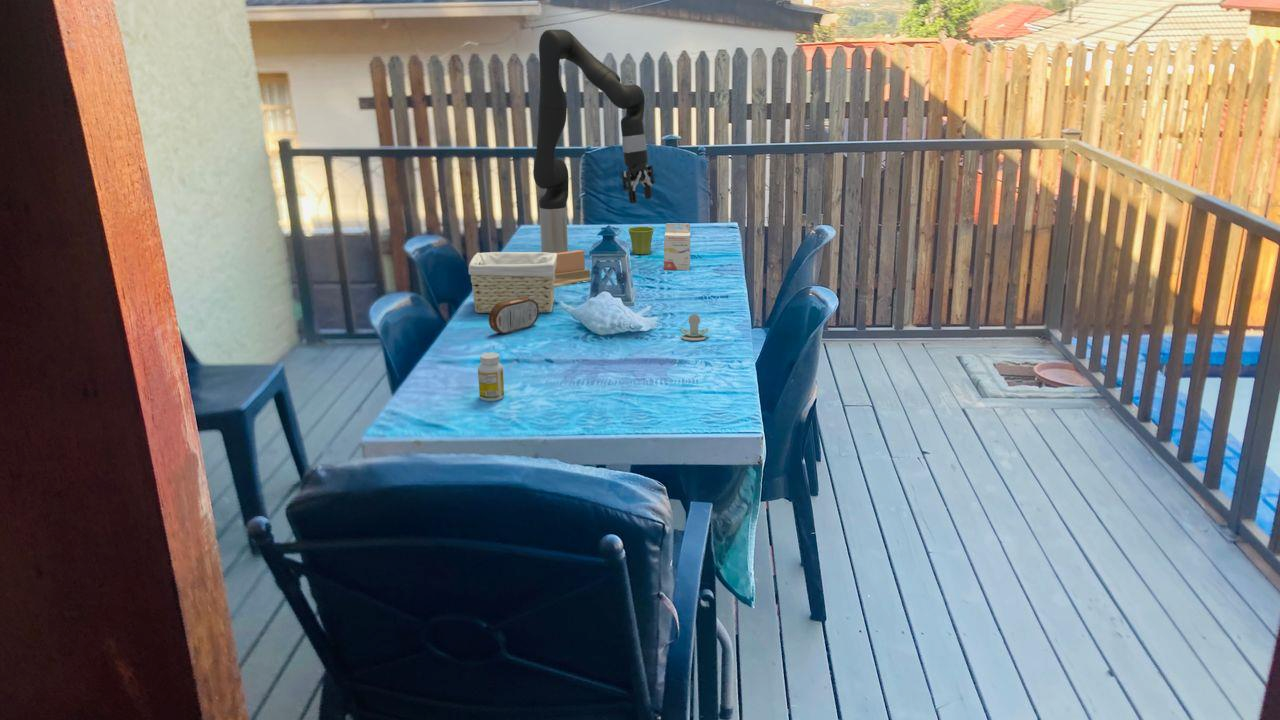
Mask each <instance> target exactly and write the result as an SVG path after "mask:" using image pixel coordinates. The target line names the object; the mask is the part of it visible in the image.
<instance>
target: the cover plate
mask: <svg viewBox="0 0 1280 720" xmlns="http://www.w3.org/2000/svg"><path fill="white" fill-rule="evenodd" d="M556 254H557V264H556V268H555V274H559V273H566V272H573V271H580V270H586V269H585V268H586V263H585V262H586V261H585V250H582V249H576V250H571V251H570V250H568V252H560V253H556Z"/></svg>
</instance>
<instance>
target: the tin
mask: <svg viewBox="0 0 1280 720" xmlns="http://www.w3.org/2000/svg"><path fill="white" fill-rule="evenodd" d="M539 314H540V313H539V308H538V304H537V303H536V302H535V301H534V300H532V299H530V298H528V297H520V298H516V299H512V300H507V301H502V302H499V303H497V304H496V305H495V306H494V307H493V308H492V310H491V312H490V313H489V315H488V324H489V326H490V329H491V330H493V331H494V332H496V333H499V334H503V335H507V334H510V333H514V332H518V331H522V330H526V329H530V328H531V327H533V326H534V325H535V323H536V322H537V320H538V319H539Z"/></svg>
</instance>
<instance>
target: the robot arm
mask: <svg viewBox="0 0 1280 720" xmlns="http://www.w3.org/2000/svg"><path fill="white" fill-rule="evenodd" d="M538 52H539V53H538V55H539V57H538V58H539V59H538V60H539V71H540V72H539V75H540V76H539V98H538V99H539V100H538V124H537V125H538V127H537V139H536V150H535V155H534V157H535V158H534V163H533V164H534V165H533V170H532V171H533V179H534V183H535V184H536V185H537V186H538V188H540V189H545V193H544V194H543V195H542V196H541V197H540V198H539V201H538V202H539V203H538V204H539V224H540V227H539V228H540V246H541V252H547V253H560V252H568V251H569V243H568V242H569V241H568V215H567V214H568V213H567V212H568V210H567V202H568V199H569V182H570V181H569V177H570V176H569V170H568V167H567V164H566V163H565V162H564V160H562V159H559V158H555V155H556V147H557V144H558V142H559V139H560V137H561V135H562V133H563V131H564V129H565V126H566V123H567V122H566V121H567V113H568V111H567V107H568V101H567V96H566V94H565V91H564V87H563V86H562V83H561V79H560V71H559V70H560V61H561V60H567V61H569V62H571V63H573V64H575V65H576V66H577V67H579V69H580V70H581V72H582V73H583V74H584V76H585V78H586V79H587V80H588V81H589V82H590V83H591V84H592V85H593V86H594V87H596V88H598V89H599V90H600V91H602V92H603V93H604V94H605V95H606V97H607V98H608V99H609V101H610V103H612V104H613V105H614V106H616V107H617V108H619V109H622V110H626V111H625V116H624V117H622V118H621V120H620V128H621V129H620V130H621V137H622V143H621V145H622V152H623V160H624V166H625V167H627V170H622V171H621V177H622V180H621V181H622V188H623V189H622V190H624V191H627V192H628V200H629V203H630V204H636V203H638V200H637V193H636V188H637V186H638V185H639V183H641V185H643V190H644V198H645V199H646V200H648V199H653V196H652V195H653V194H652V193H653V192H652V186H653V185H655V183H656V182H655V175H654V168H653V165H647V164H649V157H648V156H649V155H648V149H647V140H646V137H645V129H644V122H643V119H644V114H645V113H644V112H645V103H646V102H645V101H646V100H645V93H644V91H643V89H642V87H640V86H639V85H637V84H627V85H624V84H623V83H621V78H620V75H618V74H617V72H615V71H614V70H612V69H611V68H609V67H608V66H607V65H606V64H604V63H603V62H602V61H600V60H599V59H598V58H596V57H595V56H594V55H593V54H592V53H591V52H590V51H589V50H588V49H587V48H586V47H585V46H584V45H583V44H582V42H580V41H579V40H578V39H577V37H576V36H574V35H573V34H572V33H571V32H570V31H569V30H567V29H562V28H561V29H546V30H544V31H543V32H542V34H541V36H540V37H539V43H538Z"/></svg>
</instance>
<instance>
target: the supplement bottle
mask: <svg viewBox="0 0 1280 720" xmlns="http://www.w3.org/2000/svg"><path fill="white" fill-rule="evenodd" d="M479 358H480V364H479V365H478V366H477V375H478V377H477V378H478V391H479V399H481V400H482V401H483V402H484V401H485V402H496V401H500V400H502V399H503V398H504V397H505V388H504V387H505V386H504V385H505V383H504V367H503V365H502V364H501V363H500V354H498V353H497V352H486V353H482V354H481V355H480V356H479Z"/></svg>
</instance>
